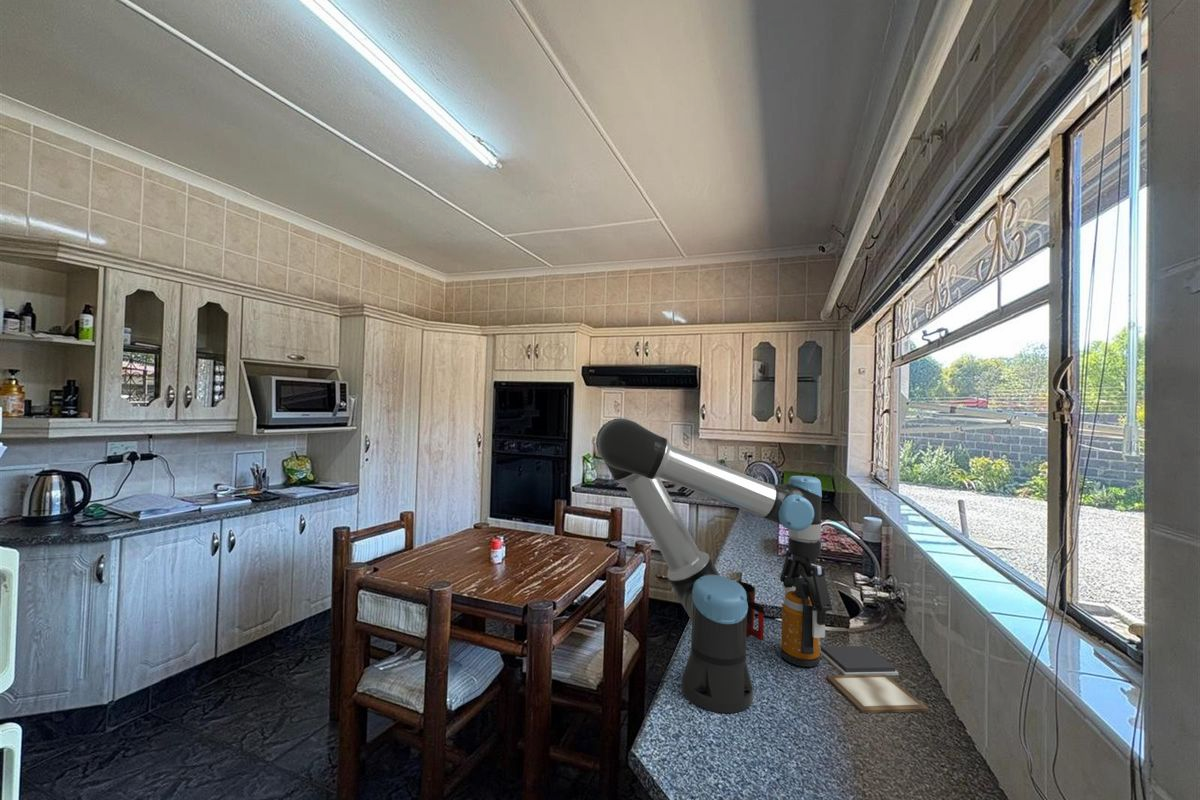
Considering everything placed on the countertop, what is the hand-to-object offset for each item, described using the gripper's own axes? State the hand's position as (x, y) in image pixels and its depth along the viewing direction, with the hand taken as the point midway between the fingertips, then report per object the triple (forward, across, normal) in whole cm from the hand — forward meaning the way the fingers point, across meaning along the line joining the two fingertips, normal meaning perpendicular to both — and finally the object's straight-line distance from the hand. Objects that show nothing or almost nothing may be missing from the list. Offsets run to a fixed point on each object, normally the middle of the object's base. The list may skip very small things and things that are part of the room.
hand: (803, 624), depth 119 cm
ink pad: (+9, -1, -14) cm, 16 cm away
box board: (+9, -14, -9) cm, 19 cm away
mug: (+9, +17, +8) cm, 21 cm away
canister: (+9, 0, 0) cm, 9 cm away
